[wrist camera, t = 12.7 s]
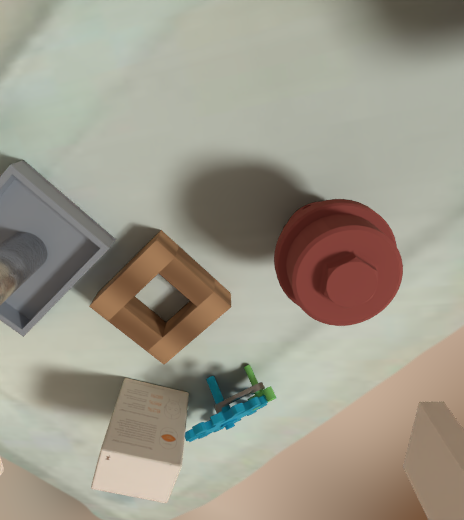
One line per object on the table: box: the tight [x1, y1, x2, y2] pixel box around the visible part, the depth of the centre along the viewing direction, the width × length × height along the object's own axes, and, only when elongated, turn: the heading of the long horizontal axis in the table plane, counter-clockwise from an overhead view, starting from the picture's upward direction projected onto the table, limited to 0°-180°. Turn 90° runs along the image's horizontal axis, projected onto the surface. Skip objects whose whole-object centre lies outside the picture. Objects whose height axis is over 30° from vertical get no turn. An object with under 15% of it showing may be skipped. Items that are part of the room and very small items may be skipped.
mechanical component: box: [274, 199, 403, 326], centre depth 34 cm, size 12×10×10 cm
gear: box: [185, 365, 276, 442], centre depth 45 cm, size 11×6×10 cm
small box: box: [91, 378, 189, 503], centre depth 43 cm, size 8×6×10 cm
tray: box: [0, 160, 116, 337], centre depth 39 cm, size 14×11×2 cm
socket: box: [89, 230, 231, 364], centre depth 41 cm, size 10×10×3 cm
